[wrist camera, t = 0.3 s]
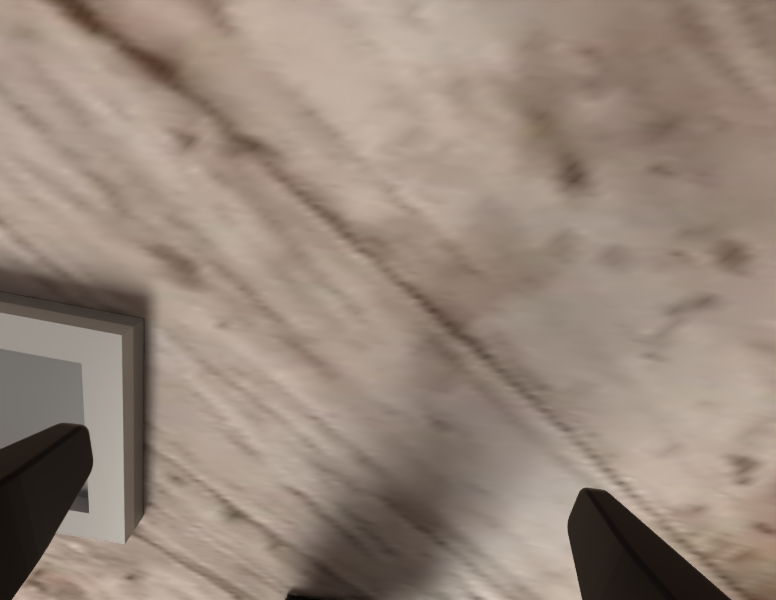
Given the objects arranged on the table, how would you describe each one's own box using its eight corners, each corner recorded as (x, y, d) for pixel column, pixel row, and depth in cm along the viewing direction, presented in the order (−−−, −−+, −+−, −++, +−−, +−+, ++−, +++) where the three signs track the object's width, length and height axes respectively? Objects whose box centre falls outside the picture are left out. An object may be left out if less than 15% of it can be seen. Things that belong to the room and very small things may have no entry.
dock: (142, 516, 28) (124, 544, 26) (-86, 478, 28) (-121, 504, 26) (143, 318, 23) (121, 335, 21) (-135, 266, 23) (-183, 278, 21)
